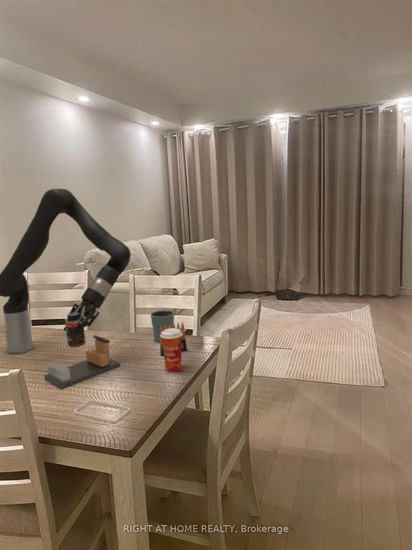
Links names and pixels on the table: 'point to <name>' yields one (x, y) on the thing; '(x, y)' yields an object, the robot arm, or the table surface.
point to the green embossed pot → (161, 322)
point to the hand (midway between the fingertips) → (70, 332)
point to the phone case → (101, 417)
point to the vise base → (75, 372)
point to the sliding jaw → (99, 352)
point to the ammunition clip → (183, 341)
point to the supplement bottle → (70, 327)
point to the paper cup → (172, 349)
